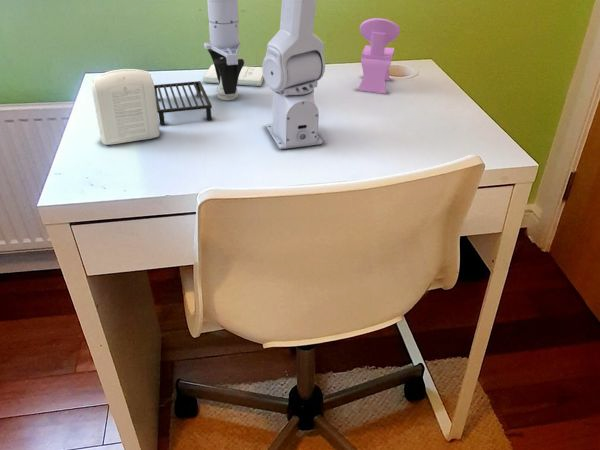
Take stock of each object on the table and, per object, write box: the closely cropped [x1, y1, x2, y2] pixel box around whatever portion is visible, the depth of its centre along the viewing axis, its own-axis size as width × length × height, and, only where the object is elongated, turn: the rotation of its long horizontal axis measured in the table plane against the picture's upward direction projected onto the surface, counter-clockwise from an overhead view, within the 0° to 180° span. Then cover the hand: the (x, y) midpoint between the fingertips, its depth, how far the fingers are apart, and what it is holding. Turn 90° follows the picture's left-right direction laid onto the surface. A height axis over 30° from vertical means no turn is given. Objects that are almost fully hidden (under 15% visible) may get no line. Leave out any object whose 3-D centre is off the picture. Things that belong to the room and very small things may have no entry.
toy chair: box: [357, 17, 401, 95], centre depth 118 cm, size 8×9×15 cm
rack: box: [154, 80, 213, 126], centre depth 108 cm, size 13×10×3 cm
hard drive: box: [203, 63, 264, 87], centre depth 123 cm, size 2×8×12 cm
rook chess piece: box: [216, 57, 239, 102], centre depth 112 cm, size 4×4×8 cm
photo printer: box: [91, 68, 161, 145], centre depth 95 cm, size 10×4×12 cm, turn 115°
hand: (226, 87), depth 113 cm, fingers open, 5 cm apart
